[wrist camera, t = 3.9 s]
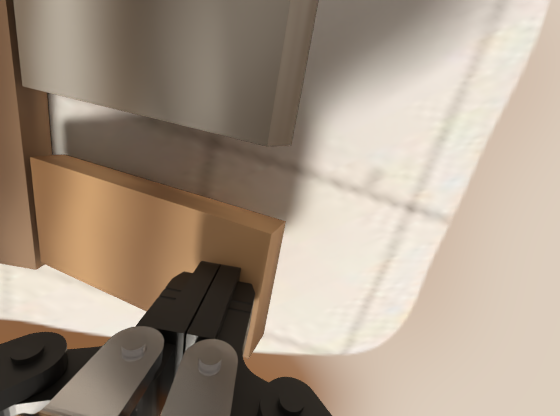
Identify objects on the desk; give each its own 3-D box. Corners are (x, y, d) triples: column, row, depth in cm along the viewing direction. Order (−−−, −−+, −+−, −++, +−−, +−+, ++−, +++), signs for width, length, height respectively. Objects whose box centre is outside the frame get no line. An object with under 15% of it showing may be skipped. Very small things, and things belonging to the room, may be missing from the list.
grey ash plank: (62, 91, 13) (22, 86, 12) (53, -53, 11) (5, -78, 10) (291, 145, 9) (267, 146, 7) (334, -83, 7) (312, -135, 6)
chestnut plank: (70, 251, 16) (41, 262, 15) (64, 154, 14) (29, 156, 13) (263, 334, 13) (248, 358, 11) (285, 221, 11) (271, 234, 9)
